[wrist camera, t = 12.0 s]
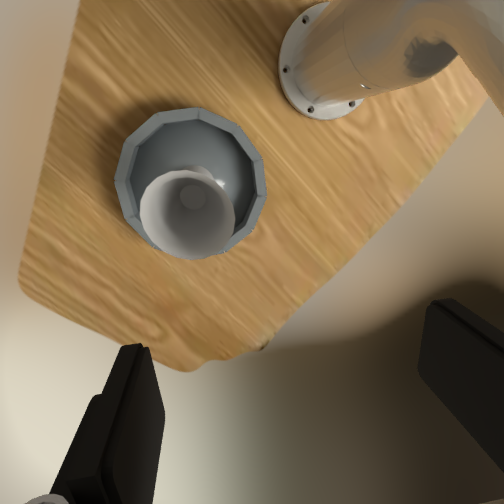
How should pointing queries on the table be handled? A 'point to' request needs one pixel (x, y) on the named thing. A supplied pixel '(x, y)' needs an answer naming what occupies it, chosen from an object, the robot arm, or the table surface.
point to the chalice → (187, 213)
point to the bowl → (192, 153)
